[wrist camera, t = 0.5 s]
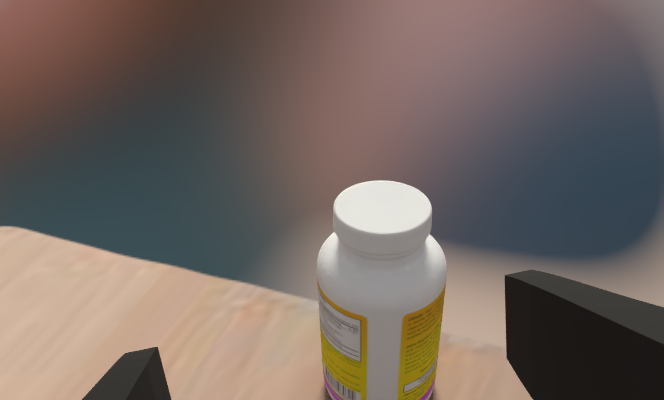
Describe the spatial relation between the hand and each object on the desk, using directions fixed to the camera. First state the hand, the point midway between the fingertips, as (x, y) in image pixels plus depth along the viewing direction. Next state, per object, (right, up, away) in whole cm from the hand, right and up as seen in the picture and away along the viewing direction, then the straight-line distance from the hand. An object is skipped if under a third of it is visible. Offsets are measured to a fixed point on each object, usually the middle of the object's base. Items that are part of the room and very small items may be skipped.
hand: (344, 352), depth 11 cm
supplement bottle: (+2, -8, +22) cm, 23 cm away
